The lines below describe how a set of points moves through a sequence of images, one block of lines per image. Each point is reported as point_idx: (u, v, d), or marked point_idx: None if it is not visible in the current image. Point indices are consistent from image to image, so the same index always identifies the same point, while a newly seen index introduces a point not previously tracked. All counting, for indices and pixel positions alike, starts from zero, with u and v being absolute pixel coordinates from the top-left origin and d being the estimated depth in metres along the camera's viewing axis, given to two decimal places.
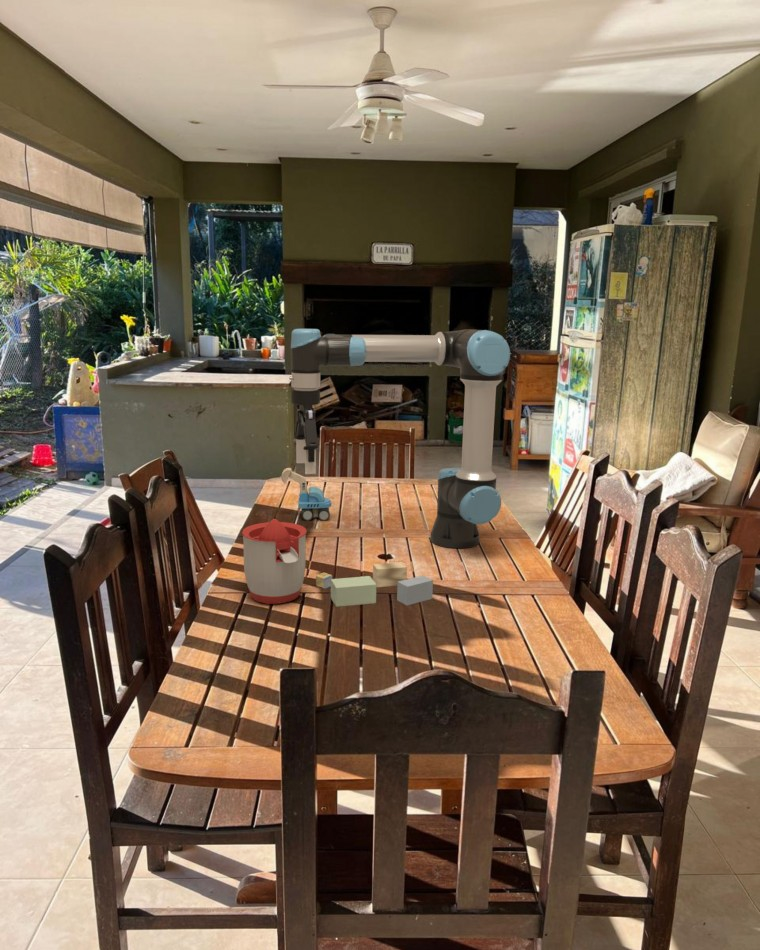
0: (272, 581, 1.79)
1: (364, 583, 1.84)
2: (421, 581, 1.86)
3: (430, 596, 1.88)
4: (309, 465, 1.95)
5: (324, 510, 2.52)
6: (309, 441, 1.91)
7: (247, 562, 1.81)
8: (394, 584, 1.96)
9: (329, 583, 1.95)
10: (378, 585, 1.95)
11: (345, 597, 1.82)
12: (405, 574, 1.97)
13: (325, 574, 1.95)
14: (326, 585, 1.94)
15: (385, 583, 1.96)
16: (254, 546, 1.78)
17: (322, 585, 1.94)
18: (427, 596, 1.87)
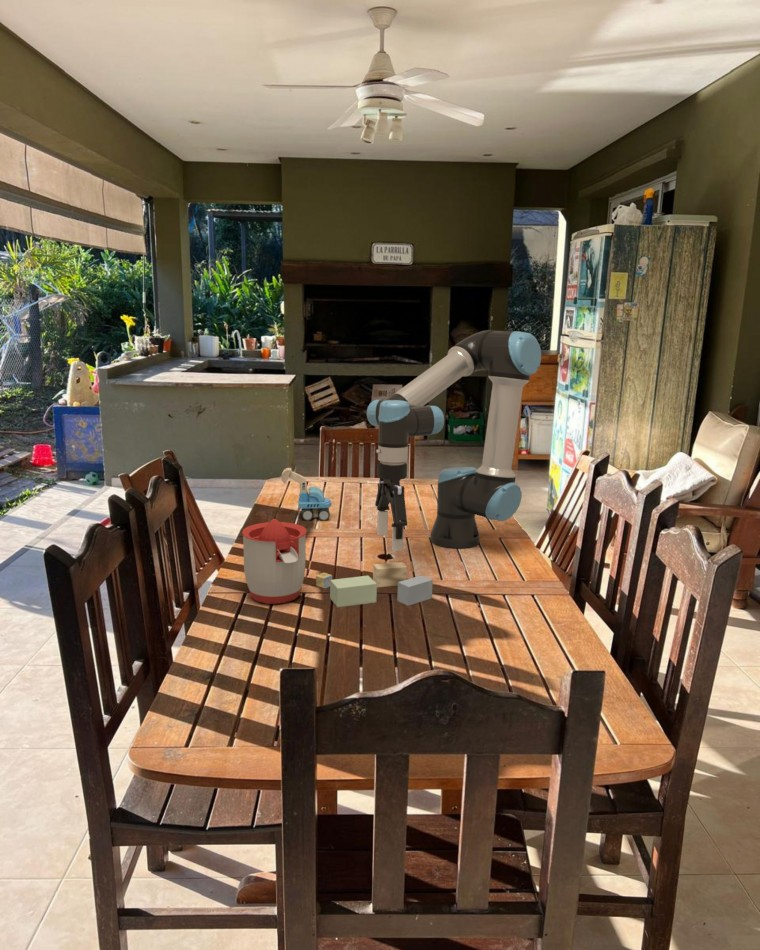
0: (272, 581, 1.79)
1: (365, 583, 1.84)
2: (421, 581, 1.86)
3: (430, 596, 1.88)
4: (397, 542, 1.88)
5: (324, 510, 2.52)
6: (398, 519, 1.84)
7: (247, 562, 1.81)
8: (394, 584, 1.96)
9: (329, 583, 1.95)
10: (378, 585, 1.95)
11: (347, 597, 1.82)
12: (405, 574, 1.97)
13: (325, 574, 1.95)
14: (326, 585, 1.94)
15: (385, 582, 1.96)
16: (254, 546, 1.78)
17: (322, 585, 1.94)
18: (427, 596, 1.88)
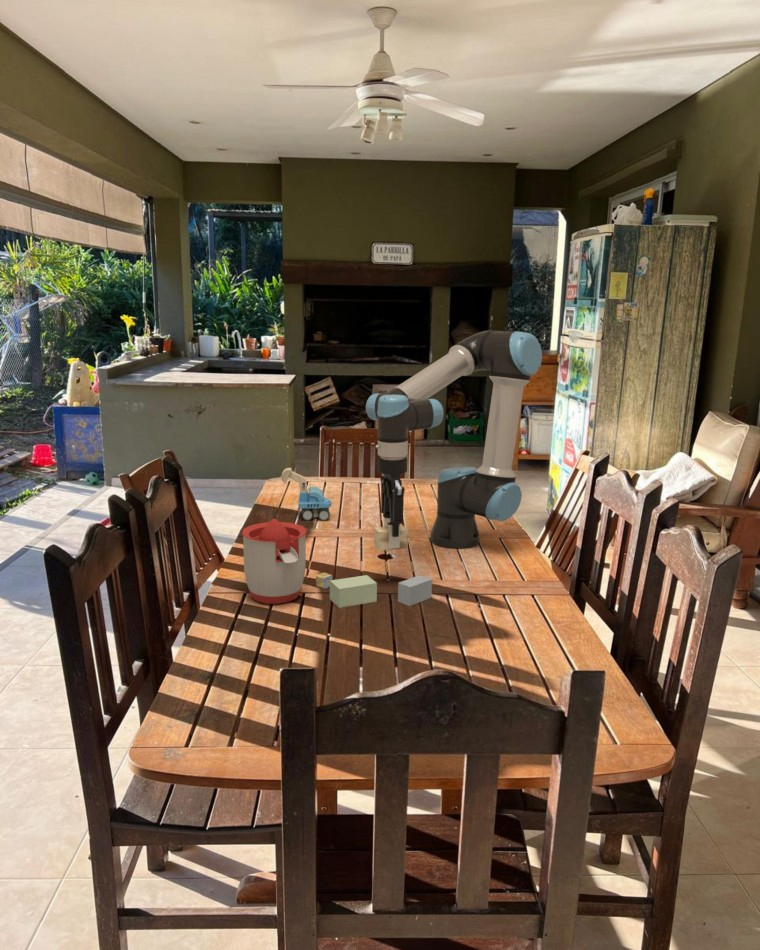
0: (272, 581, 1.79)
1: (365, 583, 1.85)
2: (421, 581, 1.86)
3: (429, 595, 1.88)
4: (393, 540, 1.93)
5: (324, 510, 2.52)
6: (395, 518, 1.88)
7: (247, 562, 1.81)
8: None
9: (329, 583, 1.95)
10: (379, 548, 1.93)
11: (348, 597, 1.82)
12: (406, 537, 1.95)
13: (325, 574, 1.95)
14: (326, 585, 1.94)
15: (386, 546, 1.94)
16: (254, 546, 1.78)
17: (322, 585, 1.94)
18: (427, 595, 1.88)
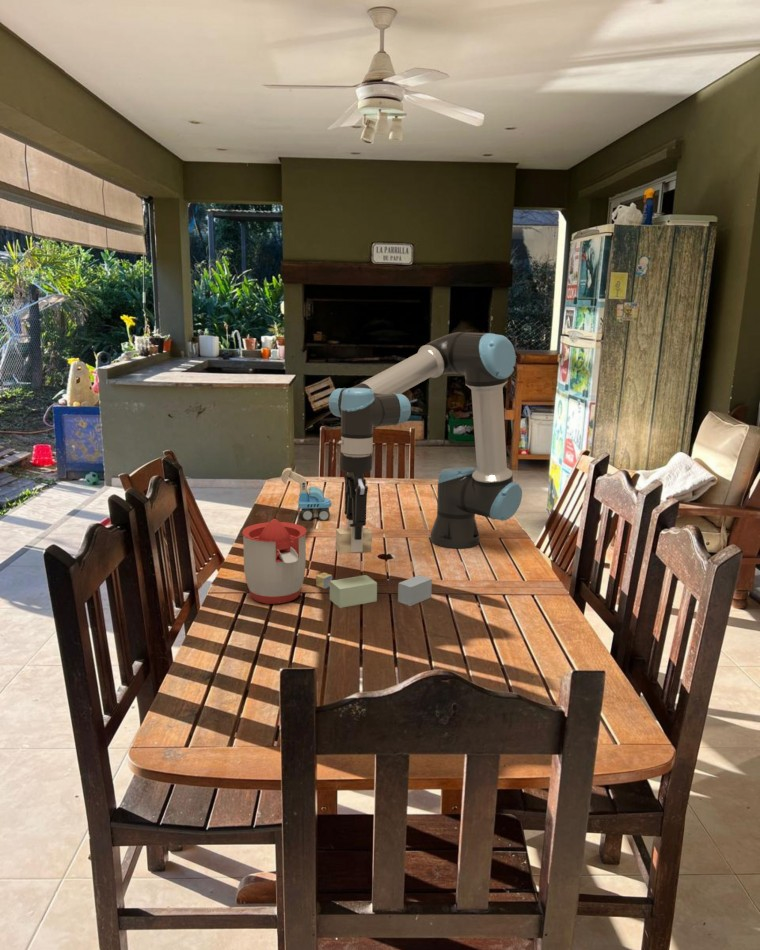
0: (272, 581, 1.79)
1: (365, 582, 1.85)
2: (421, 581, 1.86)
3: (429, 595, 1.89)
4: (356, 543, 1.81)
5: (324, 510, 2.52)
6: (357, 520, 1.76)
7: (247, 562, 1.81)
8: None
9: (329, 583, 1.95)
10: (340, 551, 1.81)
11: (348, 598, 1.82)
12: (370, 540, 1.82)
13: (325, 574, 1.95)
14: (326, 585, 1.94)
15: (348, 549, 1.81)
16: (254, 546, 1.78)
17: (322, 585, 1.94)
18: (427, 595, 1.88)
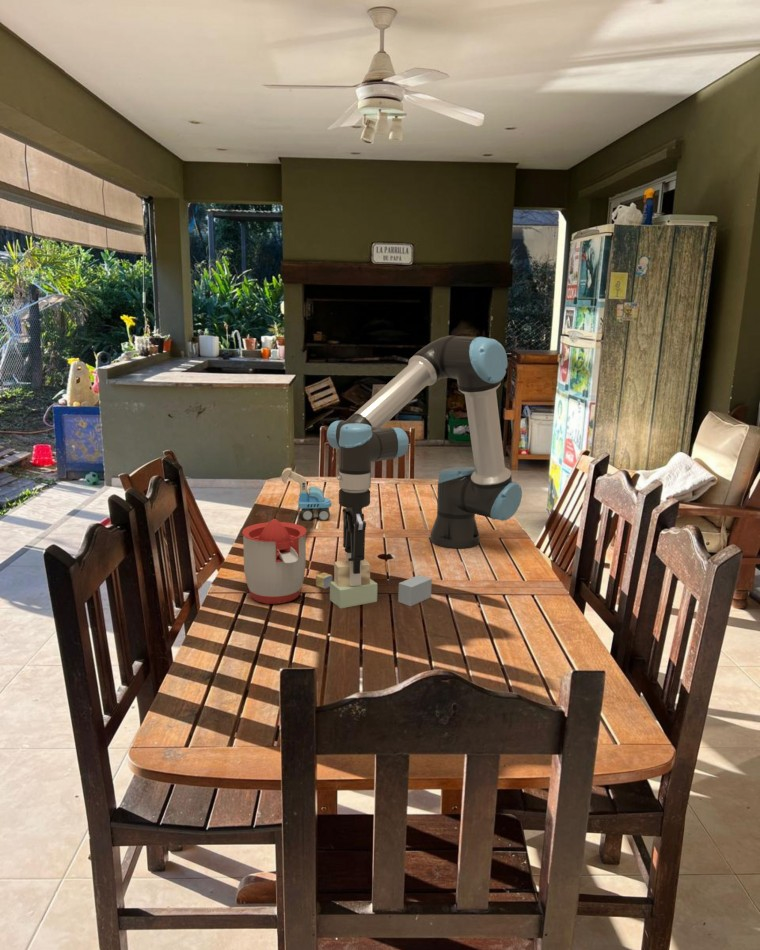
0: (272, 581, 1.79)
1: None
2: (421, 581, 1.87)
3: (429, 595, 1.89)
4: (354, 576, 1.82)
5: (324, 510, 2.52)
6: (356, 554, 1.78)
7: (247, 562, 1.81)
8: None
9: (329, 583, 1.95)
10: (339, 584, 1.82)
11: (349, 599, 1.82)
12: (368, 572, 1.84)
13: (325, 574, 1.95)
14: (326, 585, 1.94)
15: (347, 581, 1.83)
16: (254, 546, 1.78)
17: (322, 585, 1.94)
18: (427, 595, 1.88)
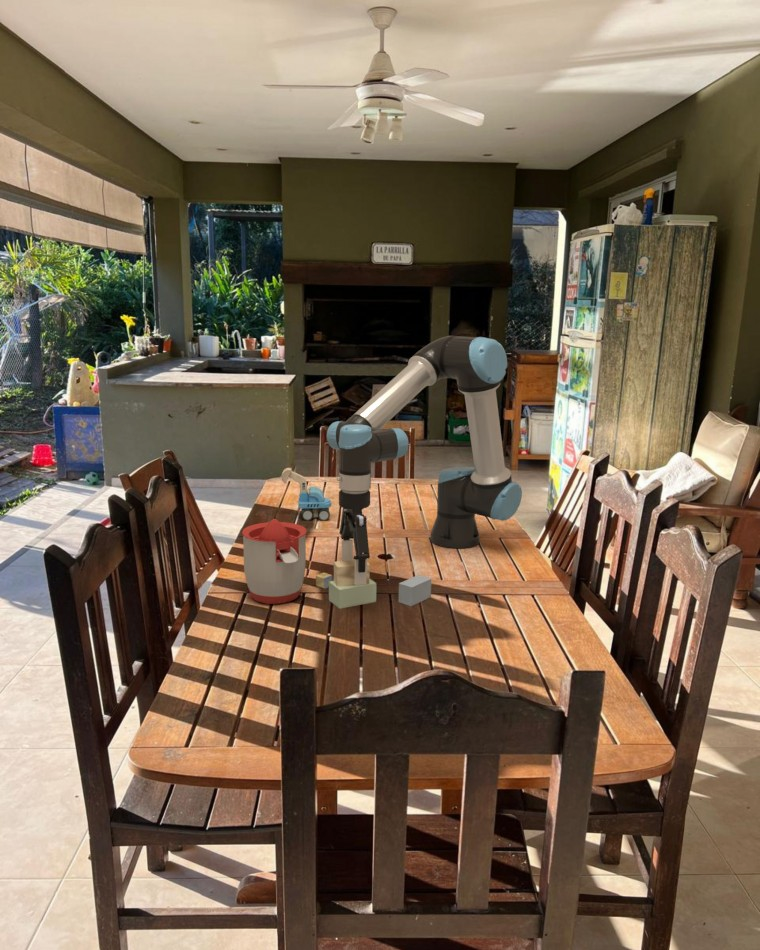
0: (272, 581, 1.79)
1: None
2: (421, 581, 1.87)
3: (429, 594, 1.89)
4: (359, 575, 1.78)
5: (324, 510, 2.52)
6: (360, 551, 1.74)
7: (247, 562, 1.81)
8: None
9: None
10: (339, 584, 1.82)
11: (348, 598, 1.82)
12: (368, 572, 1.83)
13: (325, 574, 1.95)
14: (326, 585, 1.94)
15: (346, 581, 1.82)
16: (254, 546, 1.78)
17: (322, 585, 1.94)
18: (427, 595, 1.88)
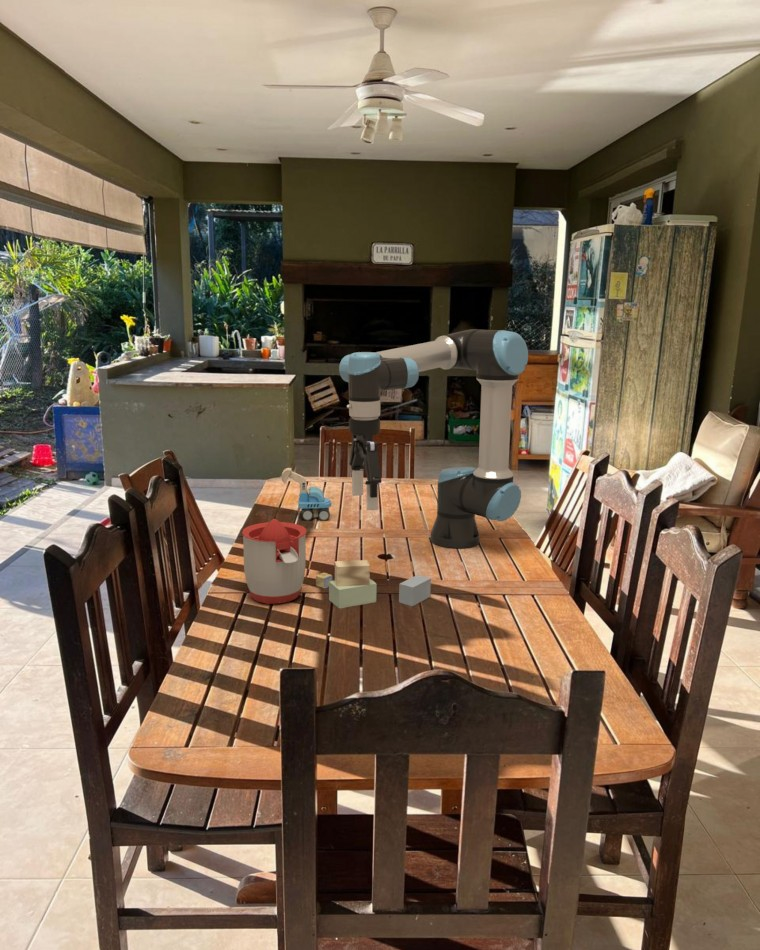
0: (272, 581, 1.79)
1: None
2: (421, 581, 1.87)
3: (429, 594, 1.89)
4: (371, 501, 1.80)
5: (324, 510, 2.52)
6: (372, 476, 1.76)
7: (247, 562, 1.81)
8: (356, 583, 1.83)
9: None
10: (338, 584, 1.82)
11: (348, 598, 1.82)
12: (368, 573, 1.83)
13: (325, 574, 1.95)
14: (326, 585, 1.94)
15: (346, 581, 1.82)
16: (254, 546, 1.78)
17: (322, 585, 1.94)
18: (427, 595, 1.88)
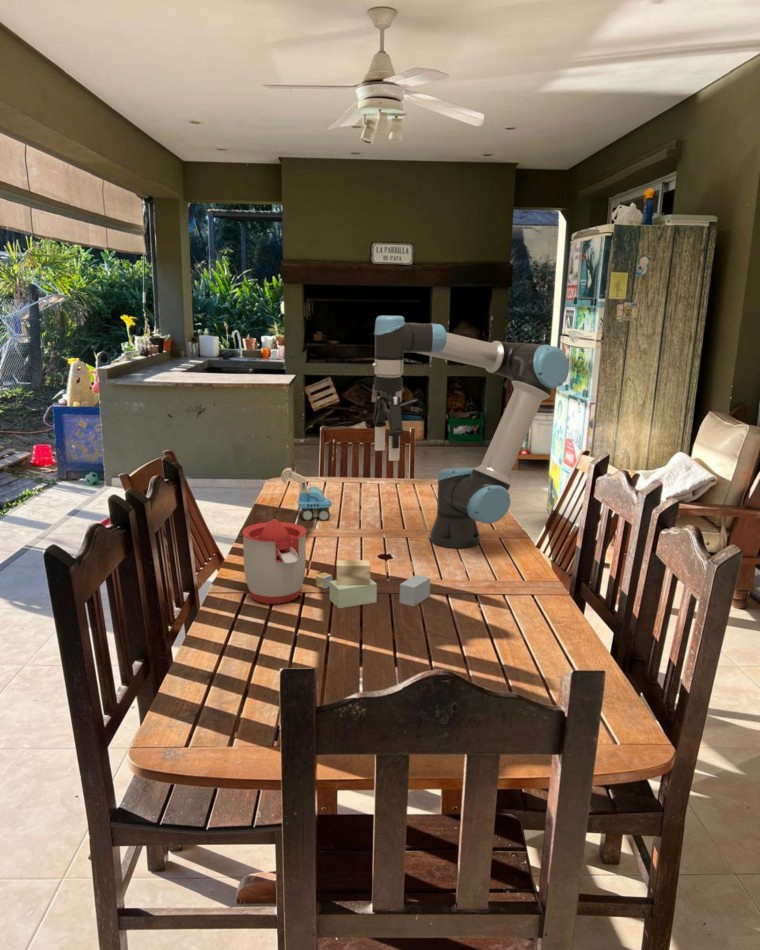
0: (272, 581, 1.79)
1: None
2: (421, 580, 1.87)
3: (428, 594, 1.89)
4: (393, 452, 1.95)
5: (324, 510, 2.52)
6: (395, 427, 1.92)
7: (247, 562, 1.81)
8: (356, 583, 1.83)
9: (329, 583, 1.95)
10: (338, 583, 1.83)
11: (348, 598, 1.82)
12: (369, 573, 1.83)
13: (325, 574, 1.95)
14: (326, 585, 1.94)
15: (346, 581, 1.83)
16: (254, 546, 1.78)
17: (322, 585, 1.94)
18: (426, 594, 1.88)
